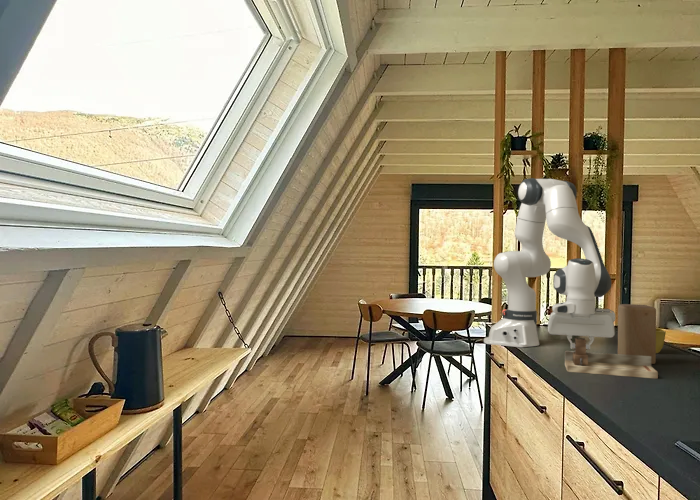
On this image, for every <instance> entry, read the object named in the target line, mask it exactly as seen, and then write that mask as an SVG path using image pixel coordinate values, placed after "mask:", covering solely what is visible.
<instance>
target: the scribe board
mask: <svg viewBox="0 0 700 500" xmlns="http://www.w3.org/2000/svg"><path fill="white" fill-rule="evenodd" d="M573 352H575V350H574V351H573V350H565V351H564V366H565V369H566V371H567V372H568V373H580V374H581V373H582V374H594V375H605V376H606V375H607V376H619V377H620V376H621V377H631V378H633V377H634V378H643V379H644V378H645V379H655V380H656V379H658V377H659V376H658V375H659V372H658V370H656V369H655V368H654V367H653V366H652V364H651V356H639V355H624V354H618V353H609V352H608V353H606V352H594V351H593V352H590V351H586V354H587V356H588V365H575V364H574V363H573Z"/></svg>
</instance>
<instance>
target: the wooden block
mask: <svg viewBox="0 0 700 500" xmlns="http://www.w3.org/2000/svg"><path fill="white" fill-rule="evenodd" d="M656 328H657V309H656V307H653V306H651V305H647V304H631V303H629V304H628V303H620V304H618V306H617V354H624V355H639V356H651V365H654V364H656V361H657V360H656V358H657V357H656V355H657V353H656Z"/></svg>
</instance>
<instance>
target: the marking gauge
mask: <svg viewBox="0 0 700 500" xmlns="http://www.w3.org/2000/svg"><path fill="white" fill-rule="evenodd" d="M574 343H575V344H576V346H575V347H576V349H574V351H575V352H573V363H574V364H575V365H588V356H587V354H586V352H587V350H586V344H587V339H586V338H585V337H574Z"/></svg>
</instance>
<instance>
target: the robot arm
mask: <svg viewBox="0 0 700 500" xmlns="http://www.w3.org/2000/svg"><path fill="white" fill-rule="evenodd" d="M577 193H578V192H577V188H576V185H575V184H574V183H573V182H570V181H568V180H559V179H554V178H533V177H531V178H524V179H523V180H522V181H521V182H520V184H519V186H518V190H517V197H518V200H519V201H520V206H519V210H518V213H517V219H516V223H515V228H514V237H515V239H516V240H517V241H518V242H519V243H520V244H521V251H520V250H507V251H504V252H499V253H498V254H497V255H496V256H495V257H494V260H493V268H494V271H495V272H496V274H497V275H498V276H500V277H501V278H502V280H503V282H504V285H505V286H506V289H507V303H508V305H507V307H508V308H507V309H506V308H505V309H503V310H502V311H501V313H502V317H503V318H502V319H500V320H498V321H497V322H496V323H495V324H493V325H492V326H491V327H490V329H489V333H488V336H486V337H484V338H483V343H484V344H486V345H494V346H502V347H503V346H506V347H515V348H527V347H536V346H537V347H538V346H539V345H540V341H539V336H538V331H537V330H538V329H537V323H538V312H537V308H536V307H537V294H536V291H535V289H534V288H532V287H530V286H529V284H528V282H527V278H536V277H541V276H544V275H547V274H548V272H550V270H551V266H552V264H551V263H552V262H551V259H550V257H549V255H548V254H547V253H546V252H545V249H544V245H543V237H544V230H545V225H547V228H548V230H549V231H550V232H551V233H552V234H553V235H554V236H555V237H558V238H560V239H562V240H565V241H569V242H572V243H573V244H576V245H577V246H578V247H579V248H581V250H582V251H583V254H584V258H579V257H578V258H571V259H569V260H568V262H567V265H566V266H565V267H562V268H559V269H557V271H555V272H554V274H553V288H554V290H555V291H556V292H557V293H559V294H560V295H562V296H564V295H565V296H566V298H565V299H566V301H562V302H559V303H556V304H553V305H552V307H551V309H552V312H551V313H550V315H549V318H548V321H547V322H548V324H547V331H548V333H549V334H550V335H560V336H566V338H567V340H568V342H569V344H570V345H569V346H570V348H569V349H571V350H575V349H576V347H575V346H576V344H575V342H573V341H572V340H571V339H573V337H574V336H576V337H577V336H578V337H588V339H589V341H588V342H587V343H586V351H591V345H592V343H594V341H595V338H596V337H597V338H613V337H614V336H615V331H616V330H615V324H614V323H615V321H616V312H615V311H613V309H610V308H599V307H598V308H597V307H596V298H601V297H604V296H605V295H606V294H607V293H609V291H610V290H611V288H612V279H611V275H610V273H609V271H608V270H607V268H606V266H605V263H604V260H603V258H602V255H601V252H600V248H599V246H598V242H597V240H596V238H595V236H594V233H593V231H592V228H591V227H590V226H588V225H587V224H585V223H584V221H583V220H582V218H581V216H580V213H579V209H578V208H579V207H578V204H577V195H578V194H577Z"/></svg>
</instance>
